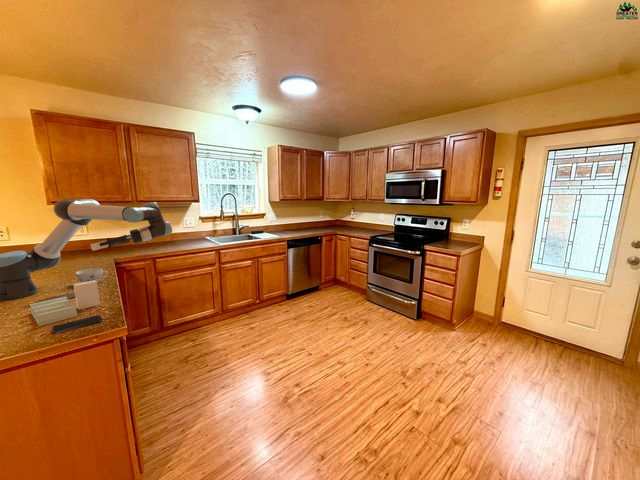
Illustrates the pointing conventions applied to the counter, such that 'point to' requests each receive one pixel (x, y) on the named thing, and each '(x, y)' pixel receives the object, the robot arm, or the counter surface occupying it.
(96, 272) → the teacup
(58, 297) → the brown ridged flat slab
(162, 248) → the counter surface
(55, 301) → the slotted rack base
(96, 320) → the phone
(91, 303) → the beige rectangular block
